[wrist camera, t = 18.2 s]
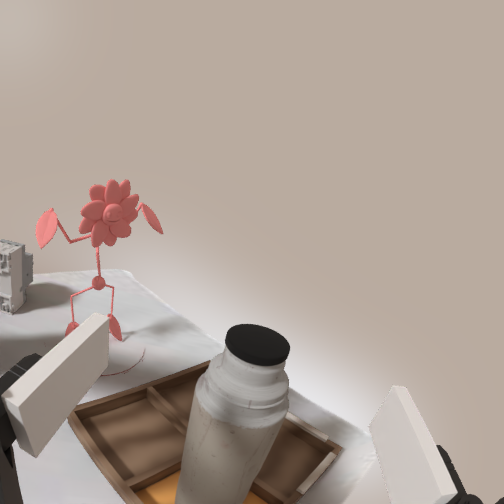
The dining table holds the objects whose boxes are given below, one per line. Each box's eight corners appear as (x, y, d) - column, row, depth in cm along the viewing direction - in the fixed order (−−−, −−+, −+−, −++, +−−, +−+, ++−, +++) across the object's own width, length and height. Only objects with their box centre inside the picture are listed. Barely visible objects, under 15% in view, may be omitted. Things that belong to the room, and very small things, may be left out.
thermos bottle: (235, 489, 34) (302, 322, 27) (235, 535, 26) (321, 377, 20) (178, 479, 33) (212, 304, 27) (170, 525, 26) (201, 356, 19)
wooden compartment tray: (68, 423, 37) (64, 404, 36) (207, 373, 62) (210, 356, 60) (206, 580, 19) (212, 573, 18) (335, 459, 44) (345, 444, 43)
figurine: (33, 346, 50) (36, 168, 41) (129, 322, 72) (152, 177, 63) (64, 395, 43) (66, 185, 34) (170, 357, 64) (203, 194, 55)
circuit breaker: (35, 291, 70) (36, 238, 66) (11, 315, 56) (8, 254, 52) (14, 285, 68) (14, 233, 64) (-11, 307, 54) (-16, 248, 51)
